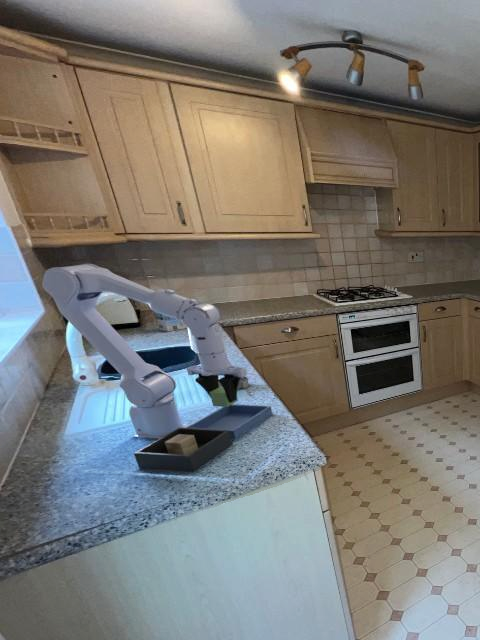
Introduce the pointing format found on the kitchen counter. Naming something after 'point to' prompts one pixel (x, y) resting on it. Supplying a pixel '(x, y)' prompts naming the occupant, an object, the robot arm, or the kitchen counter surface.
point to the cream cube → (181, 444)
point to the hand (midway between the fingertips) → (224, 400)
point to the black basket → (160, 459)
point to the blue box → (234, 419)
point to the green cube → (220, 398)
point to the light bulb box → (168, 323)
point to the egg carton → (240, 382)
